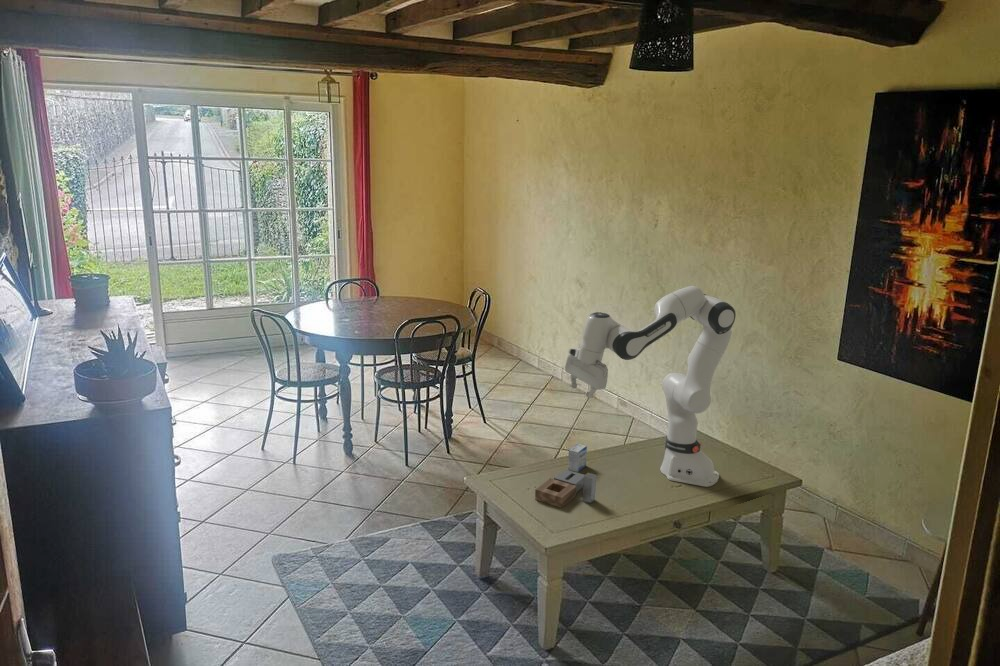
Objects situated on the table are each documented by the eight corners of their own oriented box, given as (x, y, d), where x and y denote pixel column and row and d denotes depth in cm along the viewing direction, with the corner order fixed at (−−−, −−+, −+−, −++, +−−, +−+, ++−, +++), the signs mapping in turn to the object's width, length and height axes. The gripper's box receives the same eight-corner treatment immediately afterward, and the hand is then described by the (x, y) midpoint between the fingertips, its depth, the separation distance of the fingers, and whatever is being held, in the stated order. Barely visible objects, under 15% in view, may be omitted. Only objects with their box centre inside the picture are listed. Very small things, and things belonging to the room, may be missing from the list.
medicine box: (577, 472, 281) (578, 452, 279) (567, 470, 284) (568, 449, 282) (586, 465, 288) (587, 445, 286) (576, 462, 290) (577, 443, 288)
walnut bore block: (575, 495, 263) (576, 485, 262) (561, 507, 254) (562, 497, 253) (549, 487, 269) (550, 478, 268) (535, 499, 260) (535, 489, 259)
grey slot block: (585, 484, 272) (586, 475, 270) (574, 494, 264) (575, 484, 263) (564, 478, 276) (565, 469, 275) (553, 487, 269) (553, 477, 268)
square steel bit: (594, 500, 260) (596, 474, 258) (590, 503, 257) (592, 478, 255) (586, 497, 262) (587, 472, 259) (582, 501, 259) (583, 476, 257)
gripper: (615, 366, 250) (606, 403, 253) (579, 347, 266) (571, 382, 269) (601, 365, 246) (592, 403, 249) (566, 347, 262) (558, 382, 266)
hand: (581, 392), depth 259 cm, fingers open, 8 cm apart
